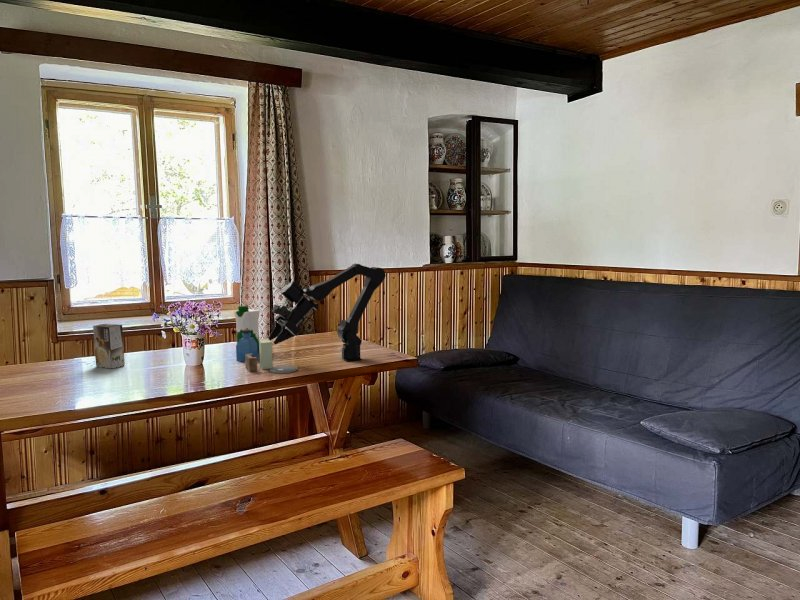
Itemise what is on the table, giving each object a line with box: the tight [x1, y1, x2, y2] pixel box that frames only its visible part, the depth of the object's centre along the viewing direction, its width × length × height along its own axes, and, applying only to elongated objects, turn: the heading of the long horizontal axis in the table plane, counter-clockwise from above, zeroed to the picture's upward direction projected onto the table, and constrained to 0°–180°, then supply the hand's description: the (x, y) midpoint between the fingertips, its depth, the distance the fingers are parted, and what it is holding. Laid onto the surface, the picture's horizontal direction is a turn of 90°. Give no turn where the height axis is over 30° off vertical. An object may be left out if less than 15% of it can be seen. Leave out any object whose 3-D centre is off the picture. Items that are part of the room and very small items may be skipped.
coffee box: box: [92, 323, 126, 369], centre depth 234 cm, size 9×6×16 cm
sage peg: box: [258, 339, 274, 370], centre depth 230 cm, size 4×4×10 cm
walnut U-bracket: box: [244, 354, 258, 373], centre depth 228 cm, size 3×9×5 cm, turn 24°
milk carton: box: [233, 305, 261, 353], centre depth 258 cm, size 9×9×20 cm
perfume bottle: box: [235, 329, 259, 362], centre depth 245 cm, size 6×6×12 cm
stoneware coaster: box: [269, 365, 298, 374], centre depth 226 cm, size 10×10×1 cm
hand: (271, 341), depth 230 cm, fingers open, 9 cm apart
